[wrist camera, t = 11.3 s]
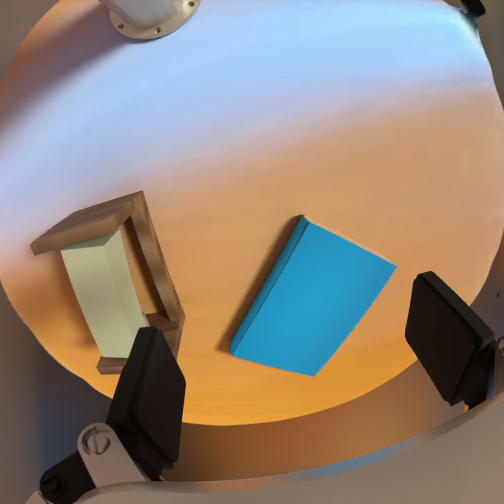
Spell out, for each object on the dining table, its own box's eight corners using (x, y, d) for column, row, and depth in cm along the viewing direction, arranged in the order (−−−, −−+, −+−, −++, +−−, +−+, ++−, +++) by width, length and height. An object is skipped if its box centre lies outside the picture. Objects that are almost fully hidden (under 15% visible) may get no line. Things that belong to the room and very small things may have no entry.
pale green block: (79, 234, 32) (60, 250, 27) (119, 229, 32) (103, 245, 27) (112, 334, 38) (102, 356, 34) (148, 334, 39) (141, 358, 34)
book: (397, 265, 40) (316, 378, 49) (385, 253, 44) (310, 362, 53) (304, 219, 36) (228, 357, 45) (297, 210, 40) (228, 340, 49)
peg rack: (73, 212, 37) (29, 244, 26) (142, 190, 37) (108, 218, 26) (122, 325, 46) (101, 374, 35) (185, 315, 46) (174, 370, 35)
